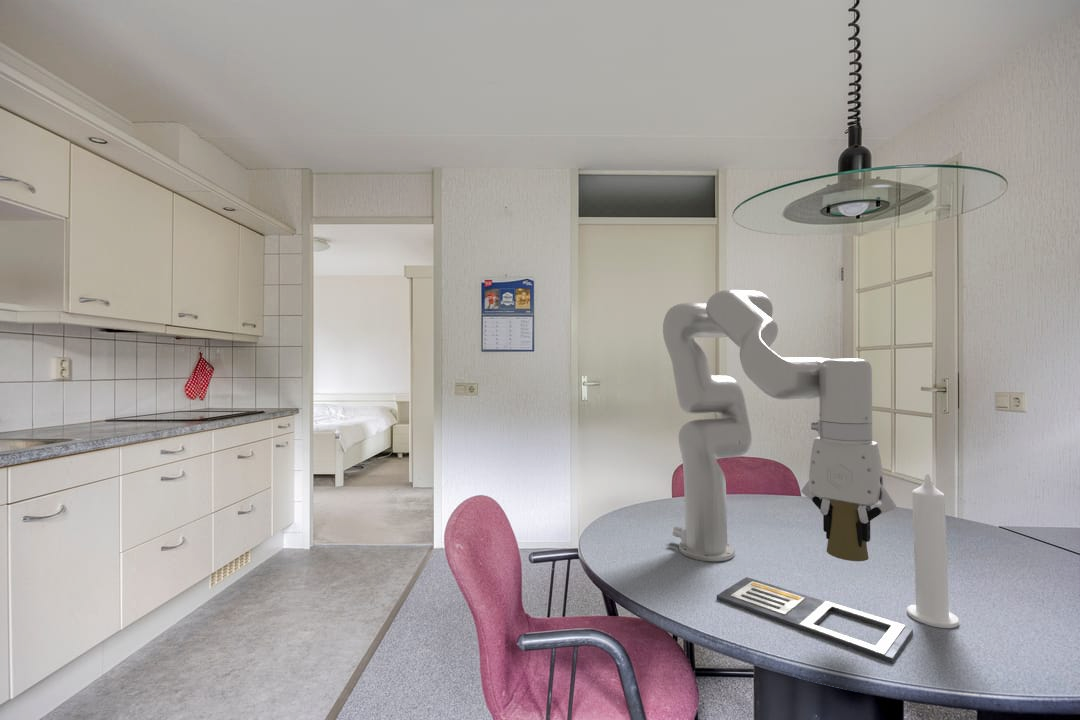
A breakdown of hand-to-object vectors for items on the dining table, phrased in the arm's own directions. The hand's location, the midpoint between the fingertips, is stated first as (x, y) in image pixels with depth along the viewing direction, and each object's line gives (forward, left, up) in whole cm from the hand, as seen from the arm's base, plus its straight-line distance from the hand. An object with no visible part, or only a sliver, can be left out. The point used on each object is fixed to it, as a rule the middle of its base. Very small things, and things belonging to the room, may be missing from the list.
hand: (846, 539), depth 83 cm
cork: (0, 0, -3) cm, 3 cm away
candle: (+9, +14, -15) cm, 22 cm away
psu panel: (-6, 0, -15) cm, 16 cm away
